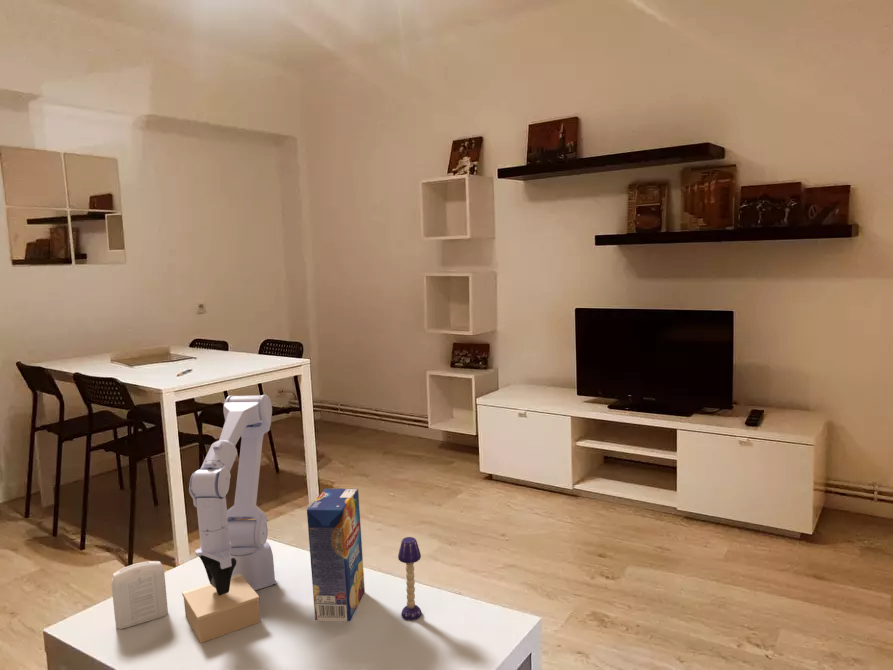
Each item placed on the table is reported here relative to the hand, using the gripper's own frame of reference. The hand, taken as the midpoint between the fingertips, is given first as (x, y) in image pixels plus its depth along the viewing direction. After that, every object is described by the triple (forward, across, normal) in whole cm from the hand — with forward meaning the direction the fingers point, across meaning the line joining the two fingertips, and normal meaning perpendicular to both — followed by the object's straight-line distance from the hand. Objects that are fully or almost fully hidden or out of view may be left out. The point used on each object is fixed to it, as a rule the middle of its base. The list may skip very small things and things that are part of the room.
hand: (219, 588), depth 140 cm
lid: (+2, 0, 0) cm, 2 cm away
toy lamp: (+7, +24, +32) cm, 41 cm away
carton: (+7, 0, 0) cm, 7 cm away
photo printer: (+7, -11, -14) cm, 19 cm away
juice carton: (+7, +11, +22) cm, 26 cm away
